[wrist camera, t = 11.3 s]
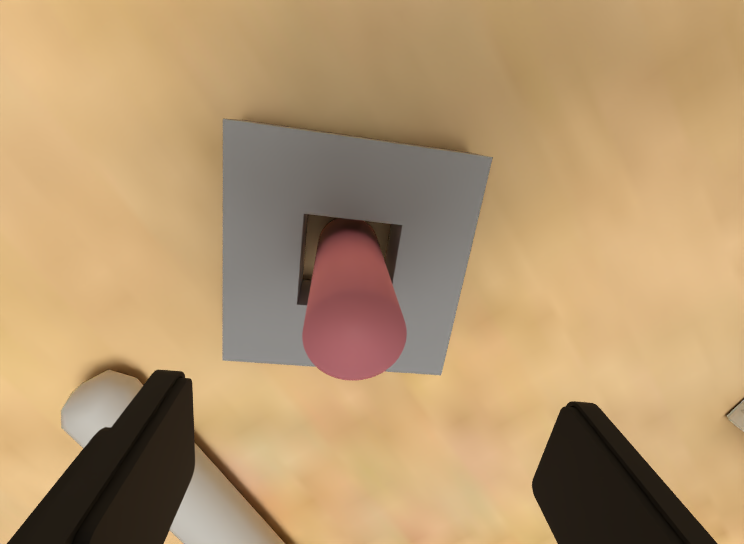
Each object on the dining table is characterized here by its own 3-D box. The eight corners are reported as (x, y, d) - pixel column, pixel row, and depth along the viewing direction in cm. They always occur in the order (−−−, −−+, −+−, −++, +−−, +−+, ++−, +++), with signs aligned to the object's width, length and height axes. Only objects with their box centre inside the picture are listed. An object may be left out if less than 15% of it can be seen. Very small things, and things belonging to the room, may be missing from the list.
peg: (381, 220, 25) (415, 294, 14) (373, 275, 27) (397, 383, 16) (321, 212, 25) (306, 283, 14) (315, 270, 26) (298, 377, 15)
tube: (21, 421, 24) (241, 621, 33) (68, 407, 22) (290, 625, 31) (92, 364, 29) (269, 553, 38) (136, 348, 27) (313, 552, 35)
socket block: (468, 152, 24) (492, 157, 21) (428, 343, 29) (441, 375, 25) (242, 120, 23) (222, 118, 19) (238, 328, 27) (222, 360, 24)
